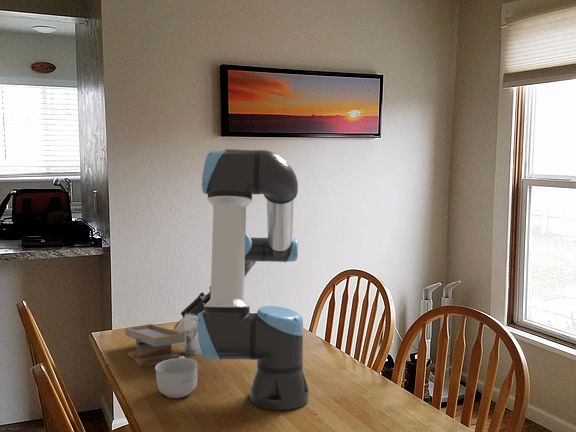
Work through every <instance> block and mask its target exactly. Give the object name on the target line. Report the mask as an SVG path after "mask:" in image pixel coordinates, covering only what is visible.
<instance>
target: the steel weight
mask: <svg viewBox="0 0 576 432" xmlns="http://www.w3.org/2000/svg"><path fill="white" fill-rule="evenodd" d="M197 318H198V314H197V313H189V314H186V315H185V342H184V354H185V355H187V356H197V355H198V356H199V355H200V354H202V353H201V350H200V349H199V348H198V347H197V346H195V345H194V344H193V343H194V341H195V340H196V338H197V337H198V329H197V323H198V319H197Z"/></svg>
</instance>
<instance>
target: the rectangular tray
mask: <svg viewBox="0 0 576 432" xmlns="http://www.w3.org/2000/svg"><path fill="white" fill-rule="evenodd" d="M124 334H125V335H124V336H126V337H129V338H131V339H133V340H135V344H136V343H141V342H144V343H147V344H149V345H152V346H155V347H157V346H163V345H168V344H171V345H174V344H179V343H185V335H184V333H181V332H178V331H175V330H174V329H171V328H168V327H163V326H161V325H157V324H154V323H148V324H141V325H136V326H129V327H125V328H124Z"/></svg>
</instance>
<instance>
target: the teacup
mask: <svg viewBox="0 0 576 432" xmlns="http://www.w3.org/2000/svg"><path fill="white" fill-rule="evenodd" d="M179 356H180V357H179V358H174V359H169V360H165V361H162V362H160V363H158V364H155V365H154V366H155V367H154V371H155V377H156V385H157V389H158V391H159V392H160V393H161V394H162V395H164V396H166V397H168V398H171V399H178V398H179V399H180V398H184V397H187V396H189V395H190V394H191V393H192V392H193V391H194V390H195V389H196V388H197V386H198V362H197V361H196V360H195V359H192V358H186V357H185V356H184V355H179Z"/></svg>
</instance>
